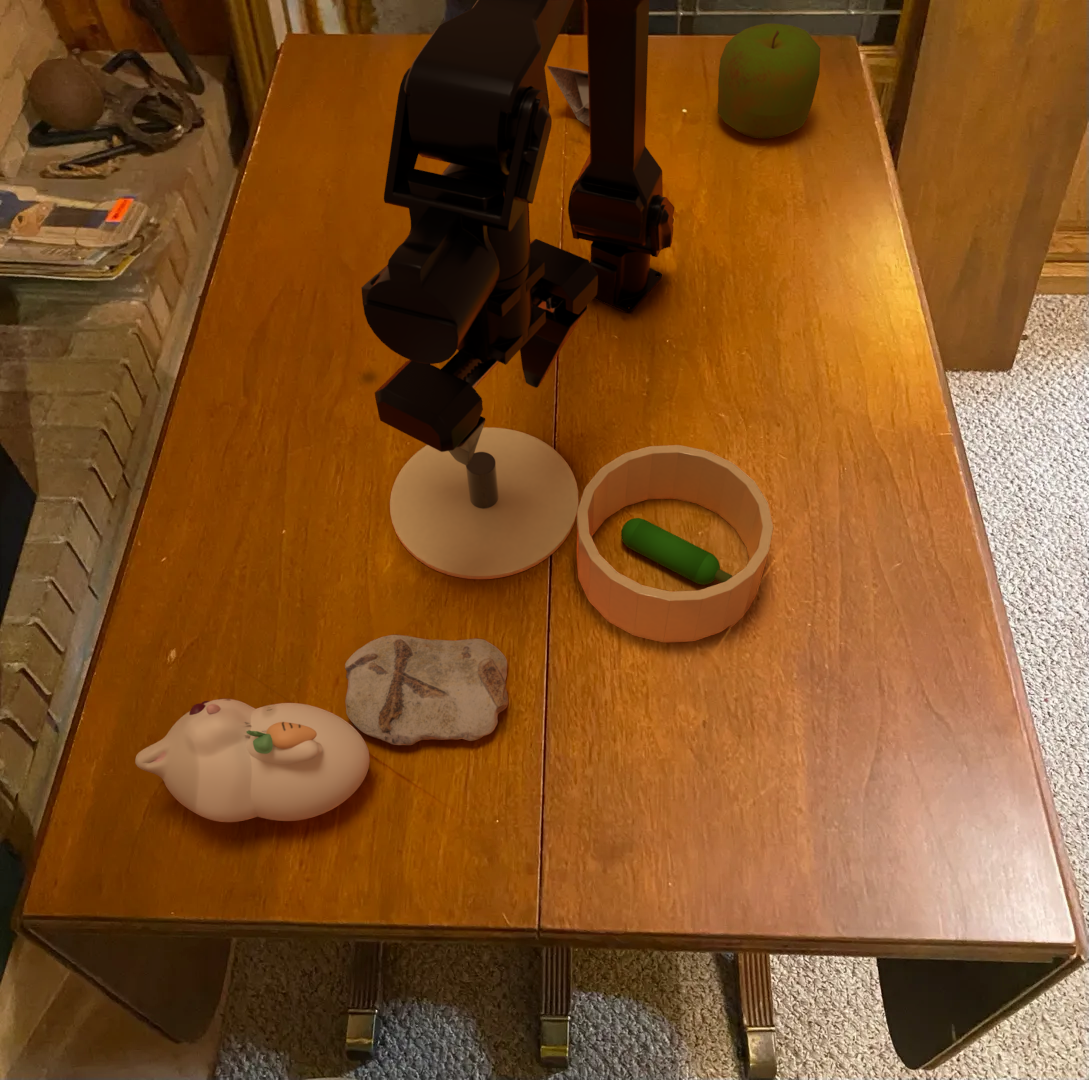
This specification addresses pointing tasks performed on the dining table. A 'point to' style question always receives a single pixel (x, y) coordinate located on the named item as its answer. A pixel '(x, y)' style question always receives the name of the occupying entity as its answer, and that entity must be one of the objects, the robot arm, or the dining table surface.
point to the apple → (768, 80)
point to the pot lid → (485, 506)
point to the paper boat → (574, 90)
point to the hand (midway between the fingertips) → (498, 422)
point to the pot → (685, 480)
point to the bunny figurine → (258, 761)
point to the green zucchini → (672, 552)
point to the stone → (426, 689)
